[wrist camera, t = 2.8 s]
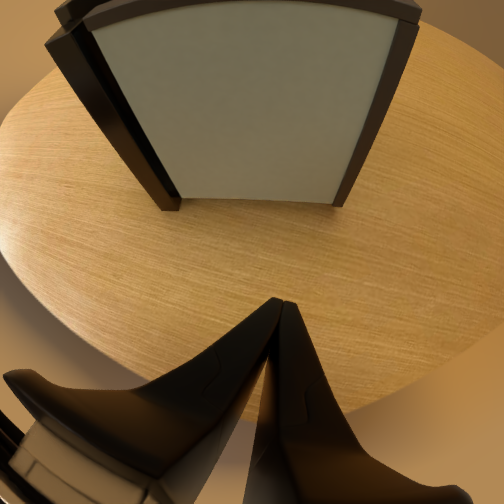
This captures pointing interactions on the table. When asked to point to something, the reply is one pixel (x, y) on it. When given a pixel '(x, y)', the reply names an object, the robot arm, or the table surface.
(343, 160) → the shower door
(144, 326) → the table surface
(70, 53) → the shower stall
